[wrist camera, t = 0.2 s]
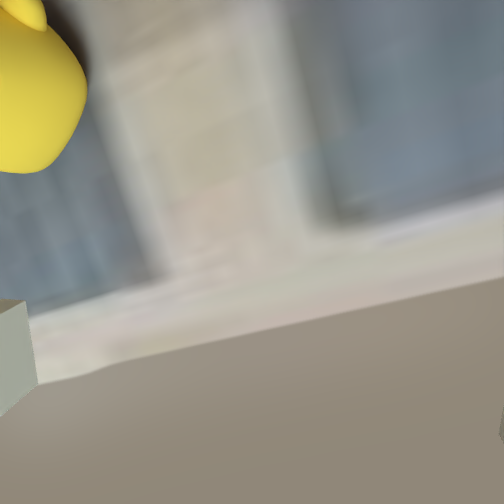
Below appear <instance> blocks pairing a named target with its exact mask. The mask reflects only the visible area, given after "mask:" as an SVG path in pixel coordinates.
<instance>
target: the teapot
mask: <svg viewBox="0 0 504 504" xmlns="http://www.w3.org/2000/svg"><path fill="white" fill-rule="evenodd" d="M86 99H87V79H86V77H85V75H84V72H83V70H82V67H81V65H80V64H79V62H78V60H77V59H76V57H75V55H74V54H73V53H72V51H71V50H70V48H69V47H68V46H67V45H66V43H65V42H64V41H63V40H62V39H61V37H60V36H59V35H58V34H57V33H56V32H55V31H54V30H53V29H52V28H51V27H50V26H49V25H48V24H47V19H46V13H45V9H44V6H43V3H42V2H41V0H0V171H3V172H12V173H32V172H38V171H40V170H43V169H44V168H46V167H47V166H49V165H50V164H52V162H53V161H54V160H55V159H56V158H57V157H58V156H59V154H60V153H61V152H62V150H63V149H64V147H65V146H66V144H67V143H68V141H69V140H70V138H71V136H72V134H73V132H74V130H75V128H76V126H77V124H78V122H79V119H80V117H81V115H82V112H83V109H84V106H85V103H86Z"/></svg>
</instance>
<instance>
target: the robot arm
mask: <svg viewBox="0 0 504 504" xmlns="http://www.w3.org/2000/svg"><path fill="white" fill-rule="evenodd" d="M36 385H38V379H37V373H36V366H35V360H34V353H33V347H32V340H31V334H30V327H29V321H28V315H27V308H26V302H25V300H11V299H1V300H0V416H2V415H3V414H4V413H5V412H6V411H7V410H9V409H10V408H11V407H12V406H13V405H14V404H16V403H17V402H18V401H19V400H20V399H21V398H22V397H24V396H25V395H26V394H27V393H28V392H29V391H31V390H32V389H33V388H34V387H35V386H36ZM499 435H500V437H501V439H502V440H503V442H504V407H503V413H502V418H501V424H500V430H499Z"/></svg>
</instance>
